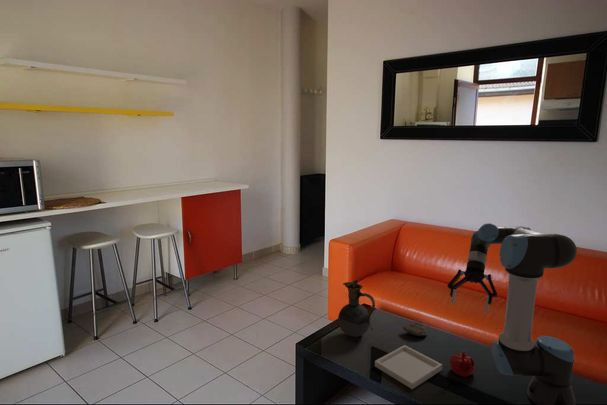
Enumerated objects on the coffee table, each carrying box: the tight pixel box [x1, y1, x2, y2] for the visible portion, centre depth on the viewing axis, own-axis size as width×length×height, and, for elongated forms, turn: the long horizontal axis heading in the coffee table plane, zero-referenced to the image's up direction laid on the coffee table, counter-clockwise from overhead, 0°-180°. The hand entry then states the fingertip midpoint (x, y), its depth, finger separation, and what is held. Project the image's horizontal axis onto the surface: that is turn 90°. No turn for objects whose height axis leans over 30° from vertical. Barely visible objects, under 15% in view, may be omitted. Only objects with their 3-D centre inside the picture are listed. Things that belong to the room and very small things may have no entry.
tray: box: [374, 344, 443, 390], centre depth 167 cm, size 20×20×2 cm
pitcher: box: [337, 279, 376, 341], centre depth 190 cm, size 11×19×30 cm, turn 53°
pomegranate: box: [448, 350, 476, 378], centre depth 162 cm, size 10×10×9 cm
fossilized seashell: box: [402, 321, 428, 337], centre depth 194 cm, size 11×11×7 cm
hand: (468, 307), depth 166 cm, fingers open, 13 cm apart
